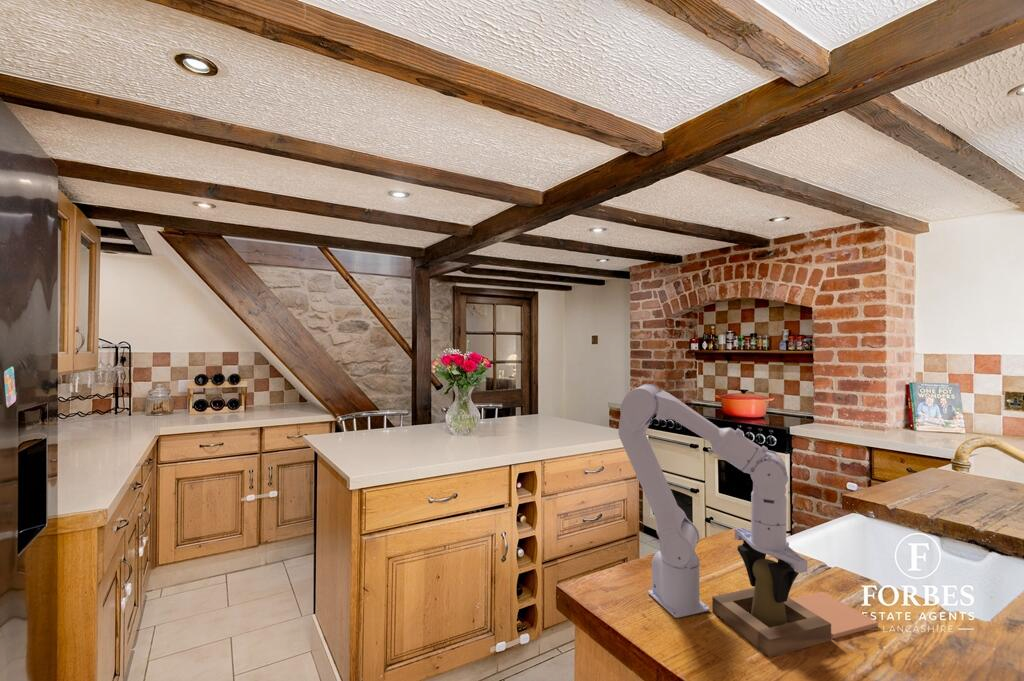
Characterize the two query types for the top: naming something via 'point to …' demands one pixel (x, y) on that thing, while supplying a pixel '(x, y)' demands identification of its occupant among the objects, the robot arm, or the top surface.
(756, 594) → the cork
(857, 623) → the terracotta tile
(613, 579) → the top surface
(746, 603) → the walnut holder
